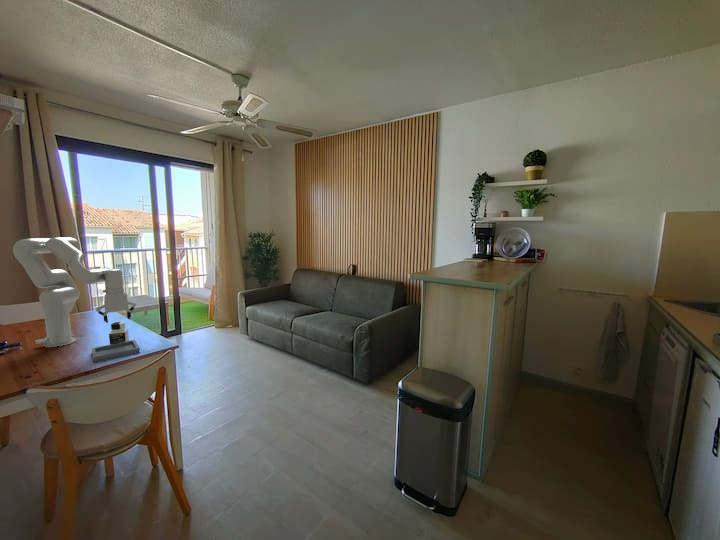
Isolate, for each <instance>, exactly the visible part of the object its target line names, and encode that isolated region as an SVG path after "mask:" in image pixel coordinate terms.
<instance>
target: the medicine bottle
mask: <svg viewBox="0 0 720 540" xmlns="http://www.w3.org/2000/svg"><path fill="white" fill-rule="evenodd" d="M110 329H111V331H110V332H109V333H108V338H109V345H111V344H116V343H121V342H126V341H130V337H129V328H128V327H127V328H126V323H125V321H116V322H112V323H111V324H110Z"/></svg>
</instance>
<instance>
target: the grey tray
mask: <svg viewBox="0 0 720 540" xmlns="http://www.w3.org/2000/svg"><path fill="white" fill-rule="evenodd" d="M139 351H140V346H139V345H138V343H137V341H136V339H132V340H128V341H126V342H121V343H116V344H111V345H110V344H106V345H101V346H97V347H91V356H92V360H93V363H98V362H103V361H107V360H111V359H115V358H116V359H117V358H121V357H124V356H125V355H126V356H129V355H128V354H130V355H132V354H131V353H134V354H136V353H135V352H139ZM139 353H140V352H139Z"/></svg>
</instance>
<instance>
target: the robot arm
mask: <svg viewBox="0 0 720 540" xmlns="http://www.w3.org/2000/svg"><path fill="white" fill-rule="evenodd" d="M80 245H81V244H80V242H79V241H78V239H76V238H74V237H70V236H67V237H65V236H64V237H61V236H59V237H58V236H57V237H45V238H44V237H41V238H40V237H38V238H36V237H35V238H33V237H32V238H31V237H29V238H24V239H23V238H22V239H19V240H18V241H16V242H15V243H14V245H13V248H12V252H13V255H14V257H15V258H16V260H17V261H18V262H19V263H20V264H21V266H22V267H23V269H25V272H26V274H27V275H28V277H29V279H30V280H31V281H32V284H33V285H35V287H36V288H39V289H46V288H49V289H46V290H44V291H42V292H41V293H40V294H39V303H40V305H41V307H42V310H43V315H44V316H43V317H44V322H45V323H44V324H45V331H46V337H45V338H43V339H36V340H34V341H35V344H38V345H41V344H42V345H43V347H44V346H45V347H44V348H57V346H59V347H64V346H67V345H70V344H74V343H75V342H76V341H77V338H75V337H73V335H72V334H73V333H72V326H71V318H70V311H69V309H68V308H67V306H66V304H68V303H72V302H75V301H77V300H78V299H79V298H80V297H81V296H80V295H81V293H80V290H79V287H78V286H77V284H76V282H75V281H74V280H73V278H72V276H73V277H74V278H75V279H77V280H79V281H80V282H82V283H84V284H87V285H93V284H99V283H104V285H105V286H104V287H105V288H104V289H103V290H102V291H101V292H102V293H105V294H104V299H103V301H104V302H103V304H102V305H101V306H99V307H97V308H95V311H96V312H97V313H98V314H99V315H101V316H103V322H105V323H106V324H108V323H109V320H108V319H109V318H108V314H109V313H115V312H116V313H117V312H121V311H126V314H127V315H126V316H127V319H128V320H130V319H131V317H132V314H131V313H132V312H133V310H134V309H135V308H136V305H137V304H136V303H134V302H131V301H129V300H128V296H127V293H126V292H124V281H123V272H122V270H121V269H120V268H95V269H89V268H87V267H85V266H84V265H83V264H82V263H81V262H83V261H84V259H85V256H86V255H85V253H83V252H82V251H81V250H79V249H80V247H81V246H80ZM41 254H53V255H55V256H56V257H58V258H59V259H60V260H62V261H63V262H64V263H66V264H67V266H68V270H69V272H70V274H69V272H68V271H66V270H64V269H61V268H56V269H51V268H50V267H49V265H48V264H47V262H46V261H45V260H44V259H43V258H42V257H40V256H38V255H41ZM71 275H72V276H71ZM52 287H53V288H52ZM129 306H131V307H130V308H129ZM102 309H104V312H103V311H102ZM63 345H64V346H63Z"/></svg>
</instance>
